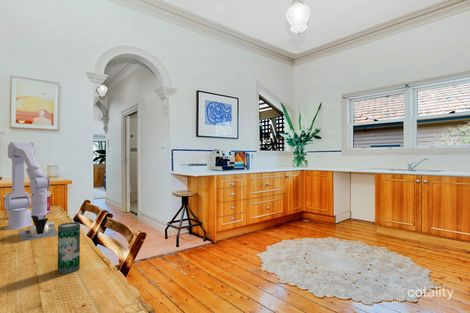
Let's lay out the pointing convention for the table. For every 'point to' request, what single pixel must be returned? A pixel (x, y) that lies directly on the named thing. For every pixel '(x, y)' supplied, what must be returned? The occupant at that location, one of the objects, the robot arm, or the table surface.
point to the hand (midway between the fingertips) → (39, 232)
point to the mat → (27, 236)
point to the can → (68, 247)
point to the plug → (34, 232)
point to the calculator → (48, 200)
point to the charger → (50, 225)
